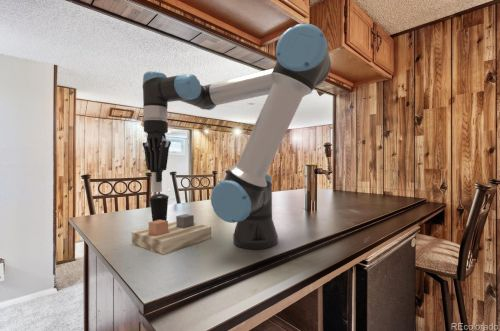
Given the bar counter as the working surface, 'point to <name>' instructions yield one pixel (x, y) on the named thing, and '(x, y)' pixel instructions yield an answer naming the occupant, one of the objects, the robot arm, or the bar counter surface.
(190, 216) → the gray block
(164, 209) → the drinking cup
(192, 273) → the bar counter surface
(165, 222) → the salmon block
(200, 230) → the panel
